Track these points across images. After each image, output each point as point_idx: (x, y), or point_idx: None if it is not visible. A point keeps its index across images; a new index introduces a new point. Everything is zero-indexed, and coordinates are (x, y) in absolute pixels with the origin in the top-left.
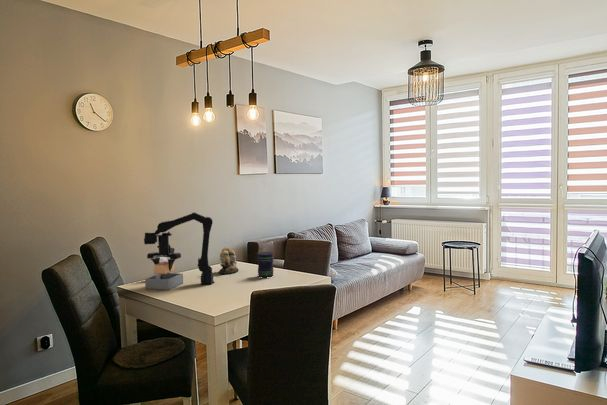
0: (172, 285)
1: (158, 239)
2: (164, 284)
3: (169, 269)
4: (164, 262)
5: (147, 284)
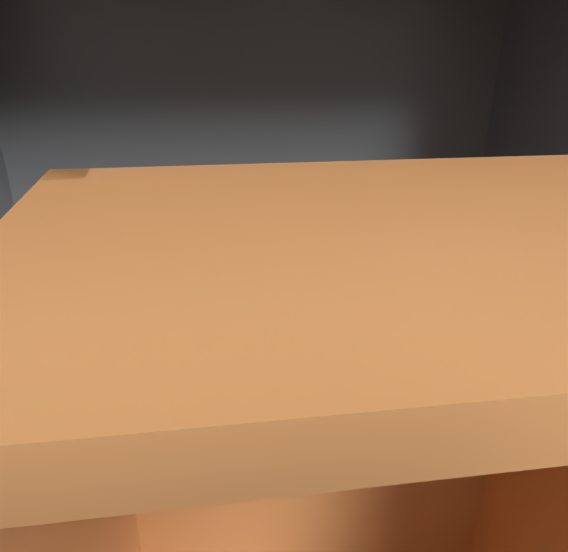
0: None
1: None
2: None
3: None
4: (43, 489)
5: None
